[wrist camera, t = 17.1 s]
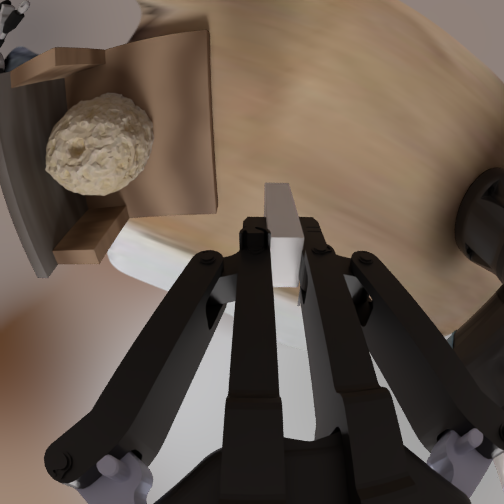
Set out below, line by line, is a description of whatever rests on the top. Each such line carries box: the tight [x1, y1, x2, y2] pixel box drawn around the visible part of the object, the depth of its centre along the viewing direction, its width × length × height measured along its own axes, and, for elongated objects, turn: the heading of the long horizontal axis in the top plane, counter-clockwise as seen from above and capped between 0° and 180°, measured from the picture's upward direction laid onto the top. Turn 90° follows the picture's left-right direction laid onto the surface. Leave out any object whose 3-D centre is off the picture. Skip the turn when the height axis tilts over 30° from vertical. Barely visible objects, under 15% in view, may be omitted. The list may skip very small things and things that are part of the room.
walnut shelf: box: [0, 30, 218, 278], centre depth 19 cm, size 16×18×12 cm
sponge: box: [45, 93, 154, 196], centre depth 20 cm, size 9×10×10 cm
